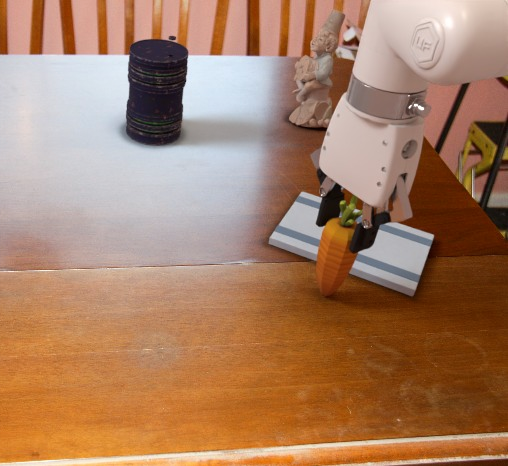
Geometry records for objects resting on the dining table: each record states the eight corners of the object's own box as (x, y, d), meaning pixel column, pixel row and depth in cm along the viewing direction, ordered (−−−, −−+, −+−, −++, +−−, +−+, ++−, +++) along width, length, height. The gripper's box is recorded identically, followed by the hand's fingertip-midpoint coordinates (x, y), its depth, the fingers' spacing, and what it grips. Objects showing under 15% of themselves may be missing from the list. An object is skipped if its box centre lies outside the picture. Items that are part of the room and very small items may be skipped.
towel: (431, 241, 94) (434, 234, 94) (412, 297, 84) (415, 289, 84) (300, 197, 101) (302, 190, 101) (268, 244, 91) (269, 236, 91)
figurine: (321, 109, 127) (345, 5, 115) (341, 130, 120) (369, 22, 108) (278, 112, 125) (299, 6, 112) (297, 133, 118) (321, 24, 106)
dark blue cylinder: (113, 128, 115) (116, 27, 104) (155, 113, 121) (162, 16, 110) (150, 151, 109) (158, 47, 99) (192, 135, 115) (204, 35, 104)
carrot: (322, 277, 86) (349, 182, 77) (352, 298, 83) (384, 201, 74) (297, 292, 84) (322, 195, 75) (328, 314, 81) (358, 216, 72)
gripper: (478, 123, 63) (419, 268, 74) (351, 58, 74) (317, 192, 85) (426, 139, 59) (373, 288, 70) (302, 69, 71) (272, 207, 82)
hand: (343, 234), depth 78 cm, fingers closed on carrot, 4 cm apart
